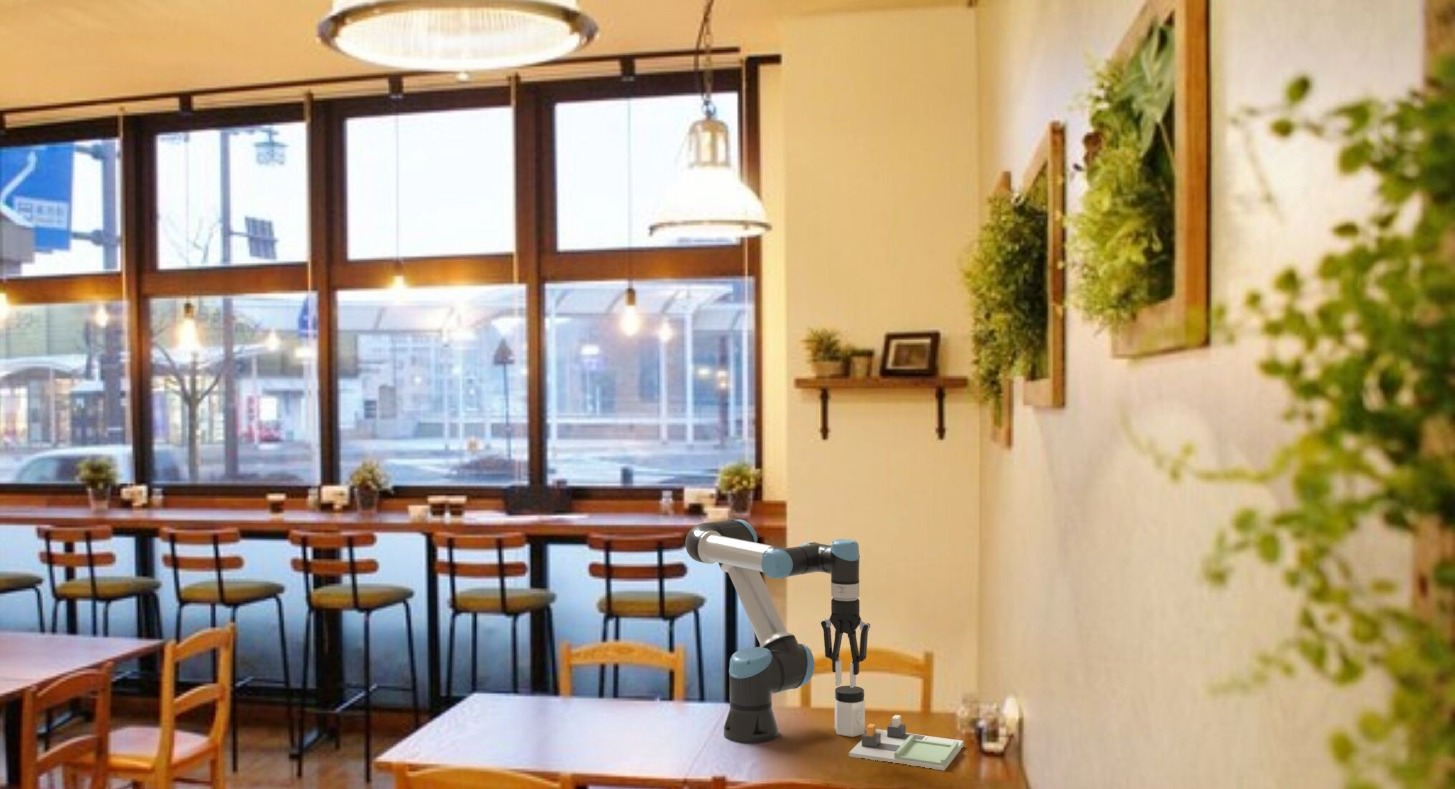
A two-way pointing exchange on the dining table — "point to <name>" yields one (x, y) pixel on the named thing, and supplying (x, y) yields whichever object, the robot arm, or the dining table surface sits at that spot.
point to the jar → (849, 711)
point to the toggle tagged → (871, 736)
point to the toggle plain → (896, 727)
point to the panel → (911, 750)
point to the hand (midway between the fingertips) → (845, 685)
